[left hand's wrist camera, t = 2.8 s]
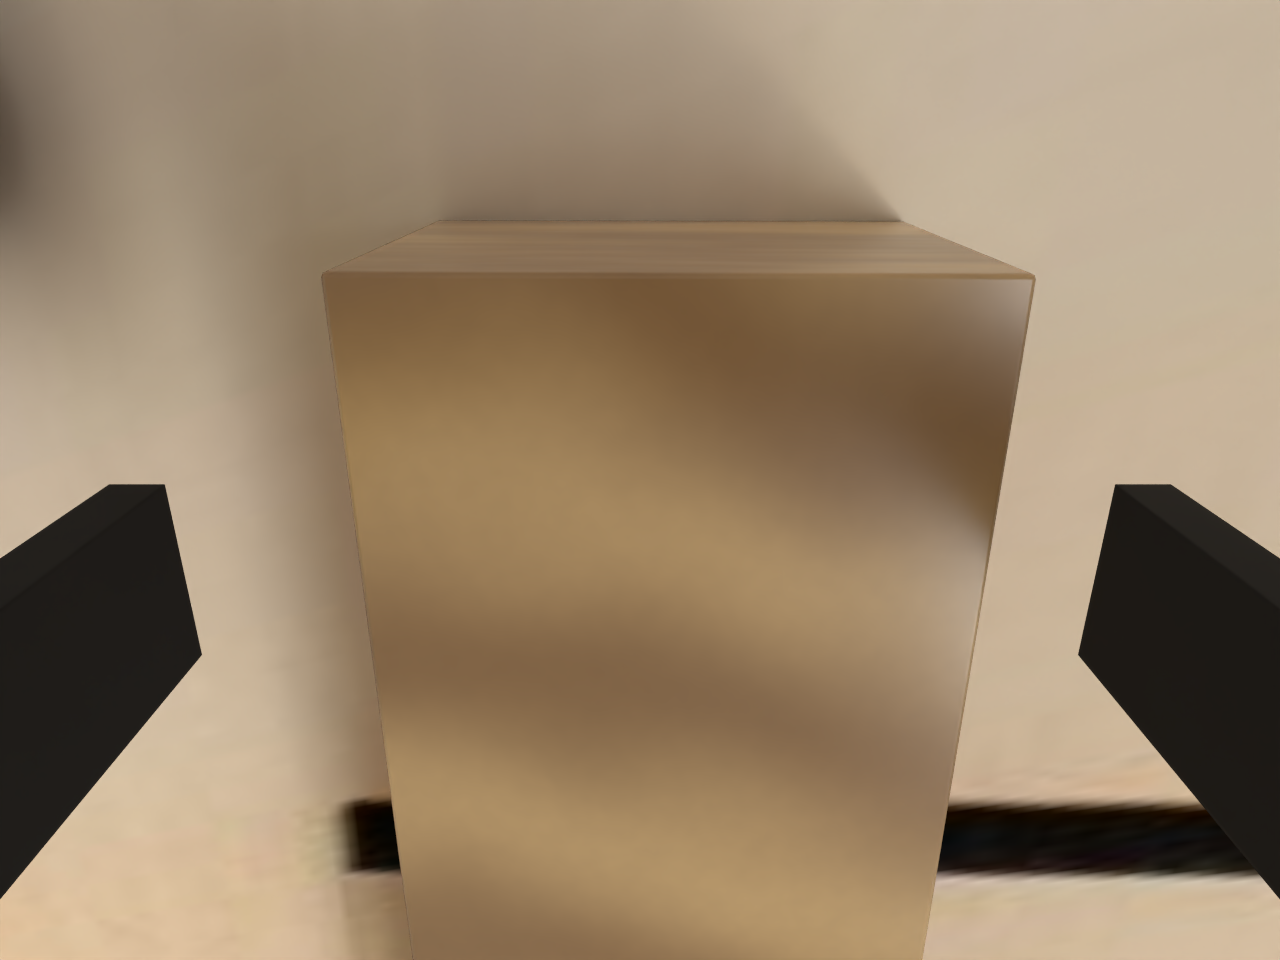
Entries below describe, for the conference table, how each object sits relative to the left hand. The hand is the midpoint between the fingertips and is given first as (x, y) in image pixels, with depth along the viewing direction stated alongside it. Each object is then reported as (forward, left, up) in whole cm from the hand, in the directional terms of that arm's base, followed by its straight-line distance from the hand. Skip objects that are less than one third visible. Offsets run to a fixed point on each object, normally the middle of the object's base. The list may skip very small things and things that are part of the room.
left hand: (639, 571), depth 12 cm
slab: (+26, +20, -7) cm, 33 cm away
